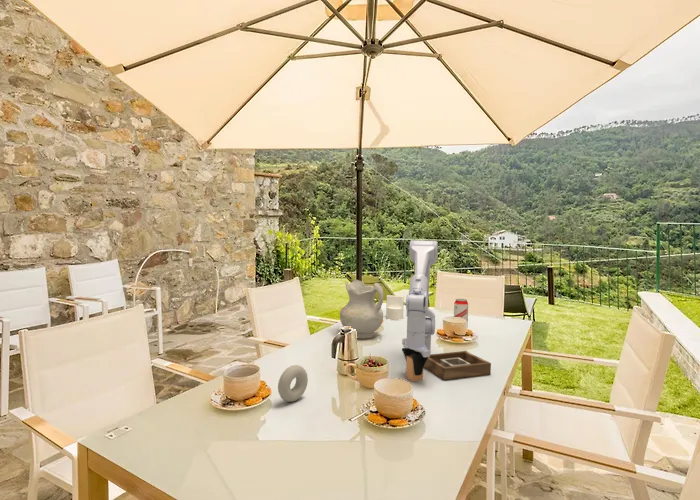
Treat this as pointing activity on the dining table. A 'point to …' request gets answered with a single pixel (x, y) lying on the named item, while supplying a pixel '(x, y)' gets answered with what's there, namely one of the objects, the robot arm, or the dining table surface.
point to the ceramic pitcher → (363, 309)
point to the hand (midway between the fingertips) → (414, 372)
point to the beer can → (461, 309)
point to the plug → (412, 370)
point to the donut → (286, 381)
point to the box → (457, 365)
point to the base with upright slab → (394, 307)
